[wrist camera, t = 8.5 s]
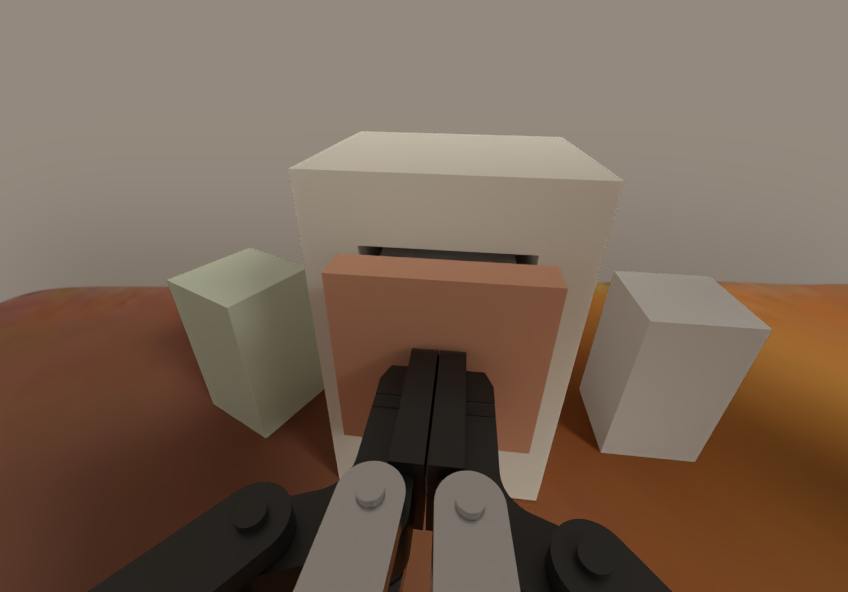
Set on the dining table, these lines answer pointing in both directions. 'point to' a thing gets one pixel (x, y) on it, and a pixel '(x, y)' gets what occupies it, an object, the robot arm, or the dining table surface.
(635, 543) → the dining table surface
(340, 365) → the button
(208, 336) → the sage block
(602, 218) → the cream box with panel
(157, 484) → the dining table surface
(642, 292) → the grey block
